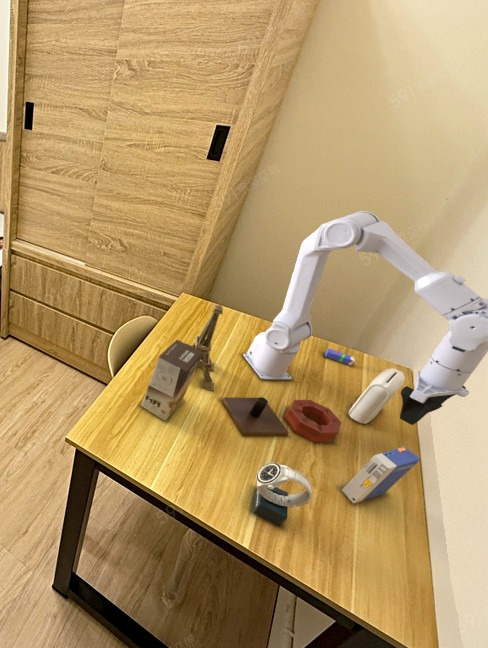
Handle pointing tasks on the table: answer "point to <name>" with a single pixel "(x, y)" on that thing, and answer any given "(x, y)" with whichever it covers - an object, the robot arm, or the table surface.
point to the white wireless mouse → (377, 395)
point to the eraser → (339, 357)
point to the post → (254, 417)
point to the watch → (278, 492)
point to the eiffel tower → (207, 347)
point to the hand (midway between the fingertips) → (416, 414)
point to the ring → (309, 429)
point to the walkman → (380, 474)
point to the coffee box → (171, 378)
